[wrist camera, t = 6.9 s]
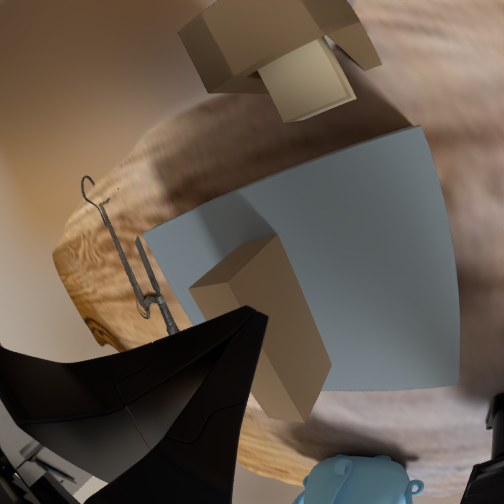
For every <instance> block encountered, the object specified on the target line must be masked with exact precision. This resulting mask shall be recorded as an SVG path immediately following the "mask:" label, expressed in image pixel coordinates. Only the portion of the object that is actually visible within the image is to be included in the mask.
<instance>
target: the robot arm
mask: <svg viewBox="0 0 504 504" xmlns="http://www.w3.org/2000/svg"><path fill="white" fill-rule="evenodd" d="M268 321H269V316H268V315H266V314H264V313H262V312H260V311H258V312H257V310H256V309H254V308H253V307H251V306H249V305H244V306H242V307H239V308H237V309H235V310H232V311H230V312H227V313H225V314H223V315H220V316H218V317H215V318H213V319H210V320H208V321H205V322H203V323H200V324H198V325H195V326H193V327H190V328H188V329H185V330H182V331H180V332H177V333H175V334H172V335H169V336H167V337H164V338H162V339H159V340H156V341H154V342H153V343H152V342H151V343H148V344H145V345H142V346H140V347H137V348H134V349H131V350H127V351H124V352H120V353H116V354H112V355H108V356H104V357H99V358H95V359H90V360H85V361H80V362H74V363H59V362H54V361H49V360H45V359H41V358H37V357H32V356H28V355H25V354H21V353H17V352H13V351H10V350H7V349H5V348H3V347H2V345H1V344H0V504H80V503H79V502H78V501H77V500H76V499H75V498H74V497H73V496H72V495H73V494H75V493H76V492H77V491H78V490H79V489H80V488H81V487H82V486H83V485H84V484H85V483H86V482H87V481H88V480H89V479H90V478H91V477H92V476H95V477H97V478H99V479H101V480H103V481H105V482H107V483H109V484H107V485H106V486H105V487H103V488H102V489H100V490H99V491H98V492H96V493H95V494H93V495H92V496H90V497H89V498H88V499H87V500H86V501H85V502H84V504H232V493H233V483H234V475H235V466H236V458H237V450H238V442H239V436H240V429H241V425H242V421H243V417H244V413H245V409H246V406H247V402H248V398H249V394H250V391H251V387H252V383H253V379H254V376H255V372H256V368H257V364H258V360H259V356H260V353H261V349H262V345H263V341H264V337H265V333H266V329H267V325H268ZM486 429H487V430H490V429H493V438H492V454H491V460H489V461H487V462H484V463H481V464H476V465H474V466H473V470H472V472H471V475H470V478H469V481H468V483H467V486H466V489H465V492H464V495H463V497H462V500H461V503H460V504H504V394H500V395H497V396H496V397H495V398H494V401H493V405H492V408H491V412H490V415H489V419H488V422H487V425H486ZM159 441H160V442H159ZM158 442H159V443H158ZM157 443H158V444H157ZM156 444H157V445H156ZM155 445H156V446H155ZM154 446H155V447H154ZM153 447H154V449H153V450H152V451H151V452H149V451H150V449H152V448H153ZM148 452H149V453H148ZM147 453H148V454H147ZM146 454H147V455H146ZM145 455H146V456H145ZM15 473H17V475H18V476H19V477H20V478H19V477H18V476H16V475H15Z"/></svg>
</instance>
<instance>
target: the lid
mask: <svg viewBox="0 0 504 504" xmlns="http://www.w3.org/2000/svg"><path fill="white" fill-rule="evenodd" d="M142 235H143V237H144V239H145V241H146V243H147V245H148V247H149V248H150V250H151V252H152V254H153V256H154V258H155V260H156V262H157V264H158V265H159V267H160V269H161V271H162V273H163V275H164V276H165V278H166V280H167V282H168V284H169V285H170V287H171V289H172V291H173V293H174V294H175V296H176V298H177V299H178V301H179V303H180V305H181V306H182V308H183V310H184V311H185V313H186V315H187V316H188V318H189V320H190V321H191V323H192V325H193V326H195V325H198V324H200V323H203V322H205V321H208V320H210V319H213V318H215V317H218V316H220V315H223V314H225V313H227V312H230V311H232V310H235V309H237V308H239V307H242V306H244V305H249V306H251V307H253V308H254V309H256V310H257V312H258V311H260V312H262V313H264V314H266V315H268V316H269V321H268V325H267V329H266V333H265V337H264V341H263V345H262V349H261V353H260V356H259V360H258V364H257V368H256V372H255V376H254V379H253V383H252V387H251V391H250V392H251V393H252V395H253V396H254V398H255V399H256V401H257V402H258V404H259V405H260V406H261V408H262V409H263V411H264V412H265V414H266V415H267V417H268V418H273V419H279V420H285V421H292V422H299V423H305V422H306V420H307V418H308V416H309V414H310V412H311V410H312V408H313V406H314V404H315V402H316V400H317V398H318V396H319V394H320V391H394V390H412V389H424V388H435V387H444V386H452V385H459V370H460V308H459V293H458V282H457V272H456V264H455V256H454V250H453V243H452V237H451V232H450V226H449V221H448V216H447V211H446V207H445V203H444V198H443V194H442V190H441V186H440V182H439V179H438V175H437V172H436V168H435V165H434V162H433V158H432V155H431V152H430V149H429V146H428V143H427V140H426V137H425V134H424V132H423V129H422V126H421V125H416V126H413V127H410V128H406V129H403V130H400V131H396V132H393V133H390V134H387V135H383V136H380V137H377V138H374V139H371V140H368V141H365V142H362V143H359V144H356V145H353V146H350V147H347V148H344V149H341V150H338V151H336V152H333V153H330V154H327V155H324V156H322V157H319V158H316V159H313V160H311V161H308V162H305V163H303V164H300V165H297V166H295V167H292V168H289V169H287V170H284V171H282V172H279V173H277V174H274V175H272V176H269V177H267V178H264V179H262V180H259V181H257V182H254V183H252V184H249V185H247V186H244V187H242V188H240V189H237V190H235V191H233V192H230V193H228V194H226V195H223V196H221V197H219V198H216V199H214V200H212V201H210V202H207V203H205V204H203V205H201V206H198V207H196V208H194V209H192V210H189V211H187V212H185V213H183V214H181V215H179V216H176V217H174V218H172V219H170V220H168V221H166V222H164V223H162V224H159V225H157V226H155V227H153V228H152V229H150V230H148V231H146V232H145V233H143V234H142Z"/></svg>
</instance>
